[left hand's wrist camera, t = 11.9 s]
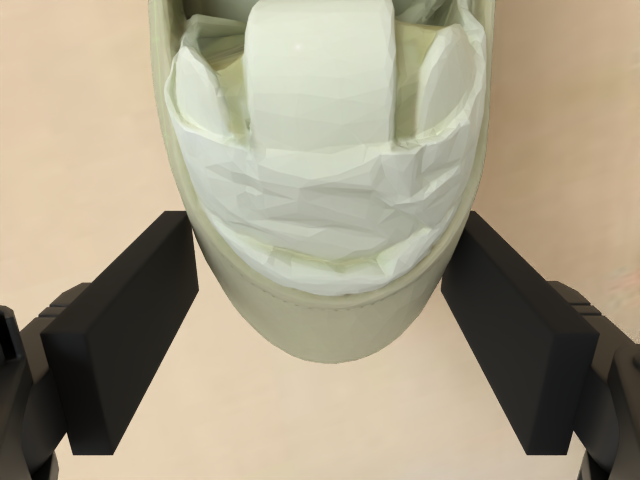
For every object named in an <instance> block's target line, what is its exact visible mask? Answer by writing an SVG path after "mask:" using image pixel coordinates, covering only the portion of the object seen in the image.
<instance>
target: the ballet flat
mask: <svg viewBox="0 0 640 480" xmlns="http://www.w3.org/2000/svg"><path fill="white" fill-rule="evenodd" d="M494 15H495V0H149V24H150V50H151V66H152V75H153V84H154V93H155V100H156V105H157V111H158V117H159V122H160V128H161V132H162V136H163V140H164V144H165V148H166V151H167V155H168V159H169V163H170V167H171V170H172V173H173V176H174V178H175V181H176V184H177V187H178V190H179V193H180V195H181V198H182V201H183V204H184V206H185V209H186V212H187V215H188V217H189V220H190V223H191V226H192V229H193V231H194V234H195V237H196V239H197V242H198V244H199V246H200V248H201V251H202V253H203V255H204V257H205V259H206V261H207V263H208V265H209V266H210V268H211V270H212V272H213V273H214V275H215V277H216V278H217V280H218V282H219V283H220V285H221V287H222V288H223V290H224V292H225V293H226V295H227V297H228V298H229V300H230V301H231V303H232V304H233V306H234V307H235V308H236V309H237V311H238V312H239V313H240V314H241V316H242V317H243V318H244V319H245V320H246V321H247V322H248V323H249V324H250V325H251V326H252V327H253V328H254V329H255V330H256V331H257V332H258V333H259V334H260V335H262V336H263V337H264V338H265V339H266V340H268V341H269V342H270V343H271V344H273V345H274V346H276V347H278V348H280V349H281V350H283V351H285V352H286V353H288V354H290V355H292V356H294V357H297V358H300V359H303V360H306V361H311V362H318V363H331V364H337V363H343V362H349V361H355V360H358V359H361V358H364V357H367V356H369V355H371V354H373V353H376V352H378V351H380V350H381V349H383V348H384V347H386V346H387V345H389V344H390V343H391V342H393V341H394V340H395V339H397V338H398V337H399V336H400V335H401V334H402V333H403V332H404V331H405V330H406V329H407V328H408V327H409V325H410V324H411V323H412V322H413V321H414V320H415V319H416V318H417V317H418V316H419V314H420V313H421V311H422V310H423V308H424V306H425V305H426V303H427V301H428V300H429V298H430V296H431V294H432V293H433V291H434V289H435V288H436V286H437V284H438V283H439V281H440V279H441V278H442V276H443V273H444V271H445V269H446V266H447V264H448V263H449V261H450V259H451V257H452V255H453V253H454V250H455V248H456V246H457V243H458V241H459V239H460V236H461V234H462V232H463V229H464V227H465V224H466V222H467V219H468V217H469V213H470V210H471V206H472V204H473V201H474V199H475V196H476V192H477V189H478V186H479V183H480V179H481V176H482V172H483V166H484V161H485V155H486V147H487V136H488V125H489V108H490V86H491V64H492V47H493V31H494Z"/></svg>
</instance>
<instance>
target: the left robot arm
mask: <svg viewBox="0 0 640 480" xmlns="http://www.w3.org/2000/svg"><path fill="white" fill-rule="evenodd" d="M198 291H199V286H198V278H197V269H196V260H195V251H194V243H193V234H192V226H191V223H190V220H189V217H188V215H187V212H186V211H164V212H163V213H162V214H161V215H160V216H159V217H158V218H157V219H156V220H155V221H154V222H153V223H152V224H151V225H150V226H149V227H148V228H147V229H146V230H145V231H144V232H143V233H142V234H141V235H140V236H139V237H138V238H137V239H136V240H135V241H134V242H133V243H132V244H131V245H130V246H129V247H128V248H127V249H126V250H125V251H124V252H122V253H121V254H120V255H119V256H118V257H117V258H116V259H115V260H114V261H113V262H112V263H111V264H110V265H109V266H108V267H107V268H106V269H105V270H104V271H103V272H102V273H101V274H100V275H99V276H98V277H97V278H96V279H95V280H94V281H93V282H92V283H81V284H79V285H77V286H75V287H73V288H71V289H69V290H67V291H65V292H63V293H62V294H61V295H60V296H59V297H58V298H57V299H55V300H54V301H53V302H52V303H51V304H50V306H49V307H47V308H46V309H44V310H43V311H42V312H41V313H40V314H39V316H38V317H36V318H34V319H33V320H32V321H31V322H30V323H29V324H28V325H27V326H26V327H25V328H23V329H22V330H21V331H20V332H19V329H18V325H17V322H16V319H15V315H14V312H13V310H12V309H10V308H8V307H7V306H1V305H0V480H58V472H59V467H58V461H57V457H56V454H55V451H54V450H55V448H56V447H57V445H58V444H59V443H60V441H61V440H62V438H63V437H64V435H65V434H66V432H67V435H68V439H69V442H70V446H71V450H72V453H73V455H113V454H114V452H115V450H116V448H117V446H118V444H119V442H120V441H121V439H122V437H123V435H124V433H125V431H126V429H127V427H128V425H129V423H130V421H131V419H132V418H133V416H134V414H135V412H136V410H137V408H138V406H139V404H140V402H141V400H142V398H143V396H144V395H145V393H146V391H147V389H148V387H149V385H150V383H151V381H152V379H153V377H154V375H155V374H156V372H157V370H158V368H159V366H160V364H161V362H162V360H163V358H164V356H165V354H166V352H167V351H168V349H169V347H170V345H171V343H172V341H173V339H174V337H175V335H176V333H177V331H178V330H179V328H180V326H181V324H182V322H183V320H184V318H185V316H186V314H187V312H188V310H189V308H190V307H191V305H192V303H193V301H194V299H195V297H196V295H197V293H198ZM441 292H442V294H443V296H444V298H445V300H446V301H447V303H448V305H449V307H450V309H451V311H452V313H453V315H454V317H455V319H456V321H457V323H458V324H459V326H460V328H461V330H462V332H463V334H464V336H465V338H466V340H467V342H468V344H469V345H470V347H471V349H472V351H473V353H474V355H475V357H476V359H477V361H478V363H479V365H480V367H481V368H482V370H483V372H484V374H485V376H486V378H487V380H488V382H489V384H490V386H491V388H492V389H493V391H494V393H495V395H496V397H497V399H498V401H499V403H500V405H501V407H502V409H503V411H504V412H505V414H506V416H507V418H508V420H509V422H510V424H511V426H512V428H513V430H514V432H515V434H516V435H517V437H518V439H519V441H520V443H521V445H522V447H523V449H524V451H525V453H526V455H567V452H568V448H569V445H570V441H571V437H572V434H573V430H574V432H575V433H576V435H577V436H578V438H579V439H580V441H581V442H582V444H583V445H584V446H585V448H586V451H585V454H584V457H583V461H582V464H581V468H580V471H579V474H578V478H577V480H640V344H635V343H634V342H633V341H632V340H631V339H630V338H629V337H627V336H626V335H625V334H624V333H623V332H622V331H621V330H620V329H619V328H617V327H616V326H615V325H614V324H613V323H612V322H611V321H610V320H609V319H607V318H606V317H605V316H602V315H601V314H602V313H601V312H600V311H599V310H597V309H596V308H595V307H594V306H591V305H590V302H589V301H587V300H586V299H585V298H584V297H583V296H582V295H581V294H580V293H579V292H578V291H576V290H574V289H572V288H570V287H568V286H566V285H564V284H562V283H560V282H558V281H546V280H545V279H544V278H543V277H542V276H541V275H540V274H539V273H538V272H537V271H536V270H535V269H533V268H532V267H531V266H530V265H529V264H528V263H527V262H526V261H525V260H524V259H523V258H522V257H521V256H520V255H519V254H518V253H517V252H516V251H515V250H514V249H513V248H512V247H511V246H510V245H509V244H508V243H507V242H506V241H505V240H504V239H503V238H502V237H501V236H500V235H499V234H498V233H497V232H496V231H495V230H494V229H493V228H492V227H491V226H490V225H489V224H488V223H486V222H485V221H484V220H483V219H482V218H481V217H480V216H479V215H478V214H477V213H476V212H475V211H470V213H469V217H468V219H467V222H466V224H465V227H464V229H463V232H462V234H461V236H460V239H459V241H458V243H457V246H456V248H455V250H454V253H453V255H452V257H451V259H450V261H449V263H448V264H447V266H446V269H445V271H444V273H443V276H442V284H441Z"/></svg>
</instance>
